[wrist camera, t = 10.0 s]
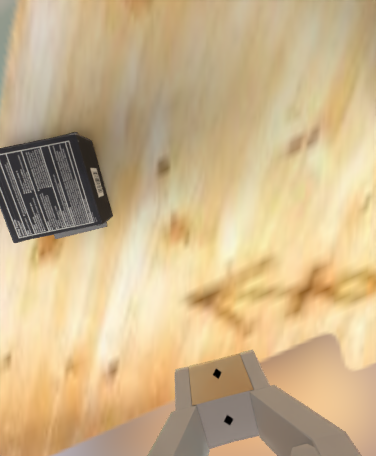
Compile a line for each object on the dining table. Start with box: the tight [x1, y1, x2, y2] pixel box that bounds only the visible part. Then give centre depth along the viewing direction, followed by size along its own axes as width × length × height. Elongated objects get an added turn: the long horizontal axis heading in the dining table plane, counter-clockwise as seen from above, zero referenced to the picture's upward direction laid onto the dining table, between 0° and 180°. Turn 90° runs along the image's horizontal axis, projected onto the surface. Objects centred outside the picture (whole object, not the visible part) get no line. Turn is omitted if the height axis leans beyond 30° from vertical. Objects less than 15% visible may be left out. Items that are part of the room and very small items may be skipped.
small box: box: [0, 132, 113, 243], centre depth 30 cm, size 11×6×10 cm
